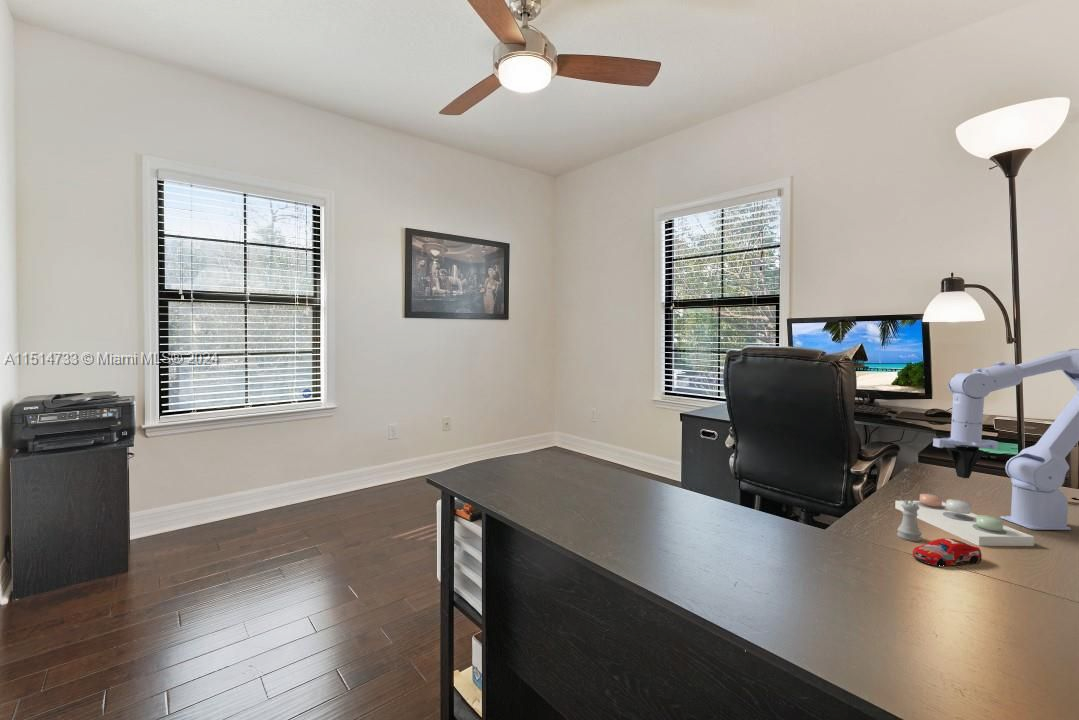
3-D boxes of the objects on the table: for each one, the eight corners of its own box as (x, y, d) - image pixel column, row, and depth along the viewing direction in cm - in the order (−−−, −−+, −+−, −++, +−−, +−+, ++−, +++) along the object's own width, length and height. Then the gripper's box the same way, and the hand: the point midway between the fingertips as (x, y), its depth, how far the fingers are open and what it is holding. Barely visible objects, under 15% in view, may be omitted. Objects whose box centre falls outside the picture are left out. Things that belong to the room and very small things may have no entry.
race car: (931, 570, 94) (932, 549, 94) (905, 557, 100) (906, 538, 99) (988, 565, 97) (989, 544, 96) (960, 553, 102) (960, 534, 102)
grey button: (959, 507, 120) (959, 499, 120) (975, 513, 115) (976, 505, 115) (941, 507, 120) (941, 499, 119) (957, 513, 115) (957, 505, 115)
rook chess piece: (926, 543, 106) (927, 506, 106) (902, 541, 107) (904, 504, 107) (915, 535, 111) (916, 499, 111) (892, 533, 112) (893, 498, 111)
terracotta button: (931, 501, 128) (932, 493, 128) (946, 507, 123) (946, 499, 123) (915, 501, 128) (915, 493, 127) (929, 506, 123) (929, 498, 123)
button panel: (940, 508, 130) (940, 500, 130) (1033, 546, 106) (1034, 535, 106) (895, 508, 129) (895, 499, 129) (978, 545, 105) (979, 535, 105)
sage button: (989, 524, 112) (990, 515, 112) (1008, 531, 107) (1009, 522, 107) (970, 523, 112) (971, 515, 112) (988, 531, 107) (989, 522, 107)
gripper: (951, 423, 117) (947, 480, 117) (1011, 425, 117) (1007, 482, 118) (927, 419, 124) (924, 473, 124) (984, 421, 124) (980, 474, 125)
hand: (963, 477), depth 121 cm, fingers closed
